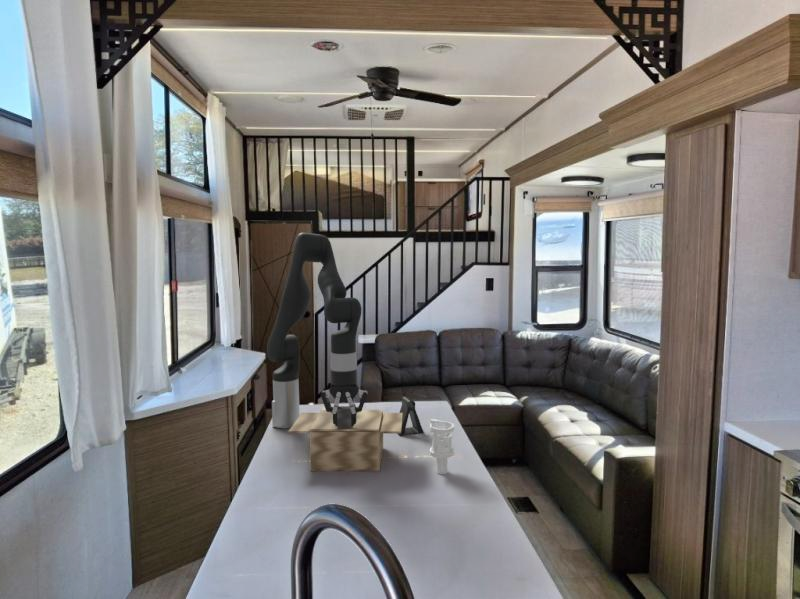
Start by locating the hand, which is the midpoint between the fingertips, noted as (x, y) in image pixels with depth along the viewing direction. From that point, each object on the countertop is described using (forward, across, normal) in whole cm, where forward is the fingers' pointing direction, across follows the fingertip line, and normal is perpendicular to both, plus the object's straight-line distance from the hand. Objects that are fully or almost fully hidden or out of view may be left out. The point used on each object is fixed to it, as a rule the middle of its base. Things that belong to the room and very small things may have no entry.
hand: (344, 425), depth 148 cm
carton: (+13, 0, -8) cm, 15 cm away
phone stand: (+14, -18, -32) cm, 39 cm away
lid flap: (+1, 0, -8) cm, 8 cm away
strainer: (+14, -28, +1) cm, 31 cm away
